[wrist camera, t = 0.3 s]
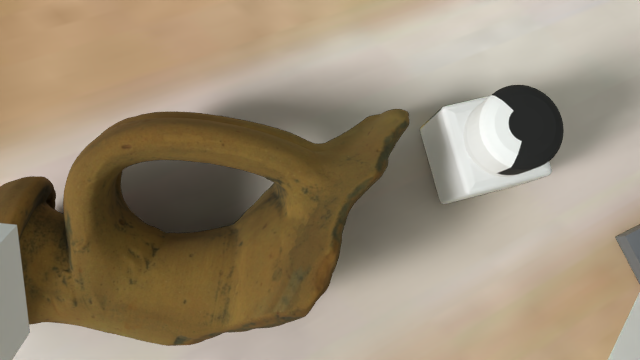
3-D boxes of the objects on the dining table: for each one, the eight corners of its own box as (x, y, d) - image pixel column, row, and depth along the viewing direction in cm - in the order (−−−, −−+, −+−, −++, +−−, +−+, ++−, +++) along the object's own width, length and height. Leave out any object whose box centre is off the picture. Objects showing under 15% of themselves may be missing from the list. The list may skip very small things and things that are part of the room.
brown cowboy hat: (369, 469, 37) (-103, 427, 31) (323, 349, 52) (4, 306, 46) (464, 123, 33) (-46, 0, 27) (385, 105, 49) (49, 25, 43)
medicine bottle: (492, 110, 51) (558, 64, 39) (515, 186, 50) (590, 162, 38) (417, 128, 50) (462, 86, 38) (439, 205, 49) (492, 187, 37)
